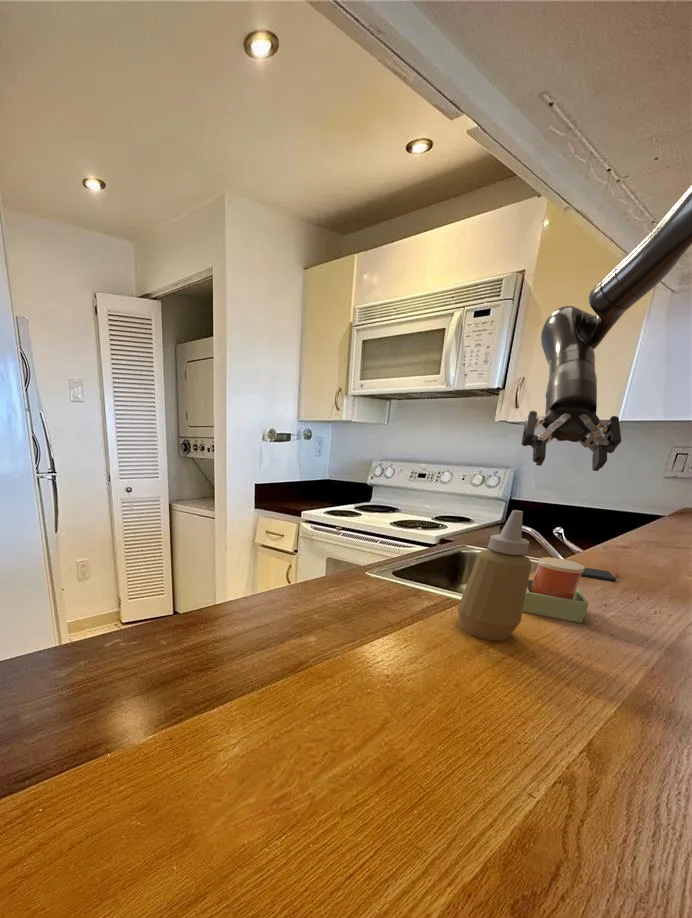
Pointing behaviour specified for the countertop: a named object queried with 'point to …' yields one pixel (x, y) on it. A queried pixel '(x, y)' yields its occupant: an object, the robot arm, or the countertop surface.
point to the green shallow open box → (556, 605)
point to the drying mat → (598, 574)
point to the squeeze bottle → (497, 584)
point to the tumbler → (557, 577)
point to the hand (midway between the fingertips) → (568, 465)
